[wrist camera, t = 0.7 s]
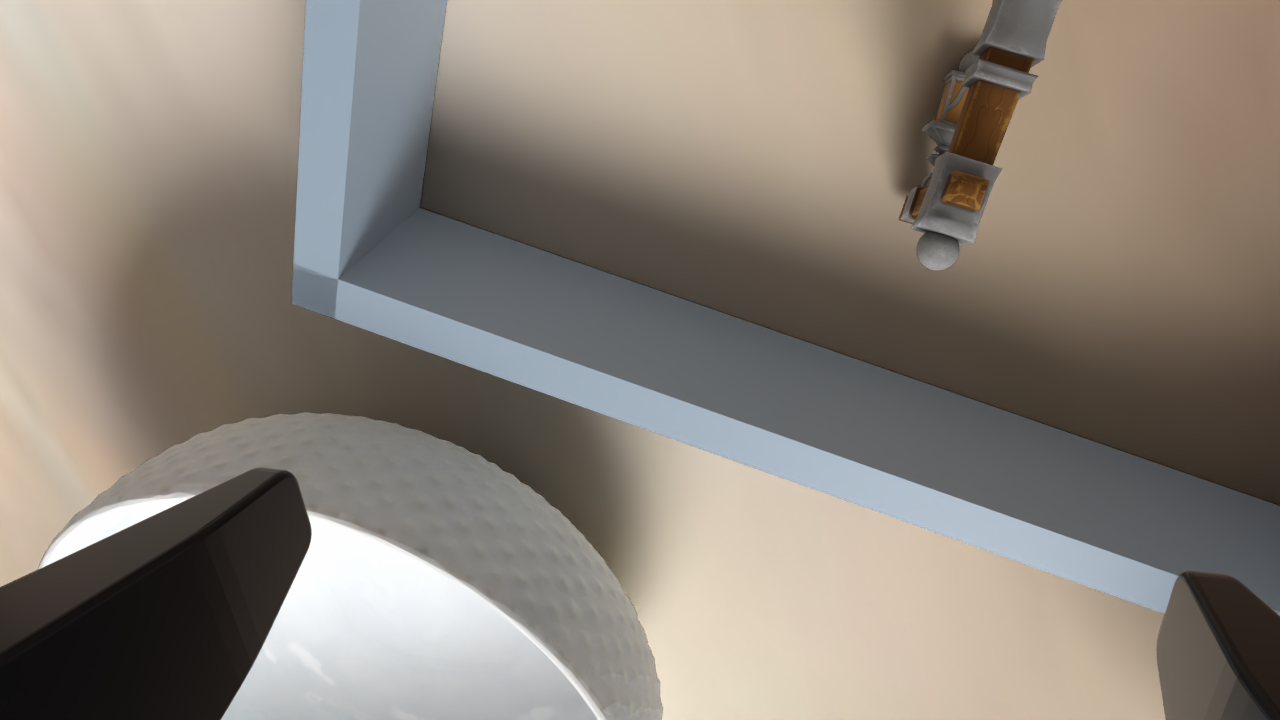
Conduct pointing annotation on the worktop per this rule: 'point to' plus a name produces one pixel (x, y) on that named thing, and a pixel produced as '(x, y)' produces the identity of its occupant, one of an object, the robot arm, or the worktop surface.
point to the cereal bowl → (409, 581)
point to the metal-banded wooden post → (975, 127)
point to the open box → (712, 353)
